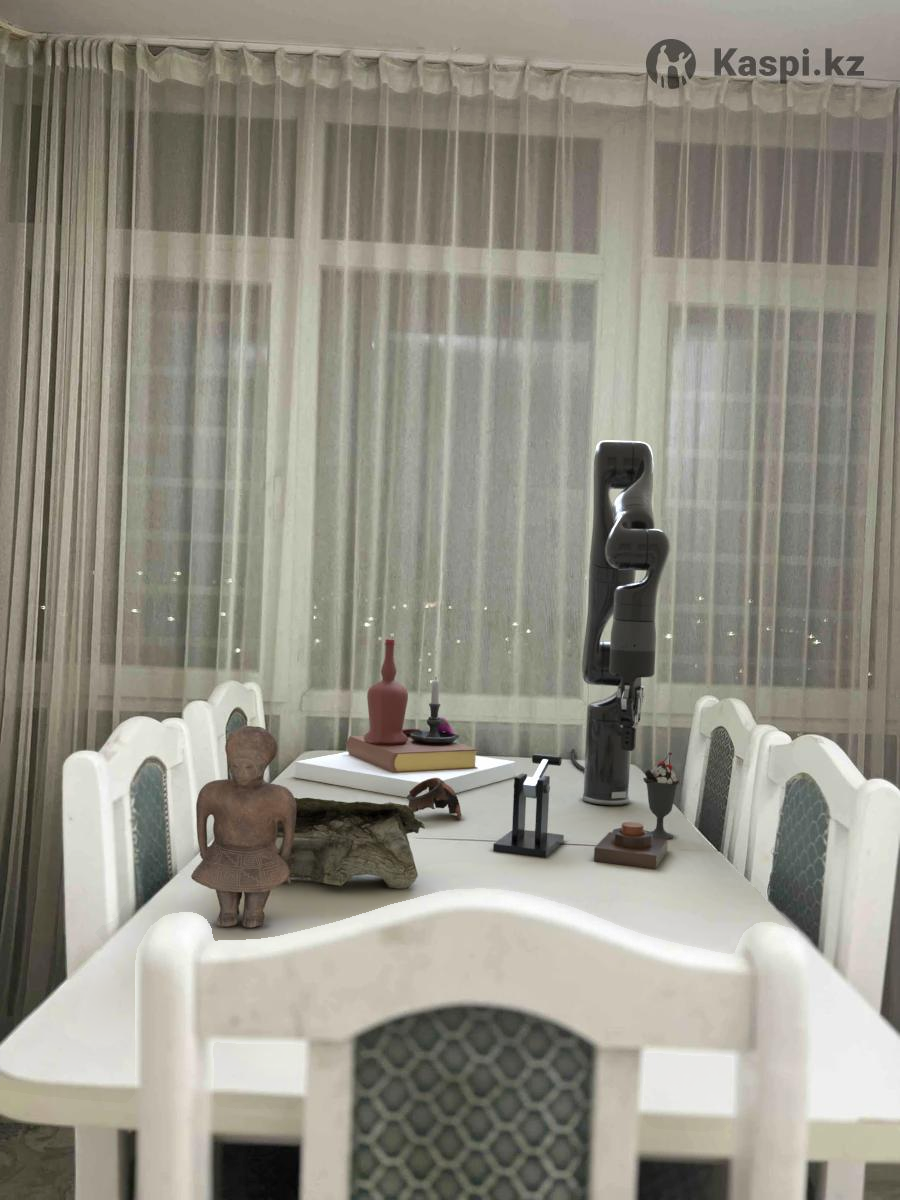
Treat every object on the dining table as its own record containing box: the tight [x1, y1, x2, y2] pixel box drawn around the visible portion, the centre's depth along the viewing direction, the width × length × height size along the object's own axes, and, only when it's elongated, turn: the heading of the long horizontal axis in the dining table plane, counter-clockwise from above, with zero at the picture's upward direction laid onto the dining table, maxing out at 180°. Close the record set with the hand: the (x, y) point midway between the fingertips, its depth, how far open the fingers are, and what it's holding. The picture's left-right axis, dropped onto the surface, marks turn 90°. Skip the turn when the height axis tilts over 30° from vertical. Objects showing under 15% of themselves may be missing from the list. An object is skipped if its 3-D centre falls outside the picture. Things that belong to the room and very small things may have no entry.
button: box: [621, 821, 645, 836], centre depth 174 cm, size 4×4×2 cm
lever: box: [523, 753, 563, 799], centre depth 182 cm, size 12×5×2 cm, turn 160°
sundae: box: [642, 752, 682, 840], centre depth 189 cm, size 7×7×15 cm
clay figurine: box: [190, 725, 296, 928], centre depth 133 cm, size 13×10×25 cm
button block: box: [593, 827, 669, 870], centre depth 174 cm, size 12×10×4 cm
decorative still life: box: [294, 638, 517, 798], centre depth 237 cm, size 35×40×31 cm
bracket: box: [492, 773, 565, 859], centre depth 178 cm, size 12×9×12 cm
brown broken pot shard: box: [406, 778, 462, 821], centre depth 198 cm, size 12×10×8 cm
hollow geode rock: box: [276, 797, 426, 889], centre depth 151 cm, size 28×13×15 cm
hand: (628, 749), depth 177 cm, fingers closed
